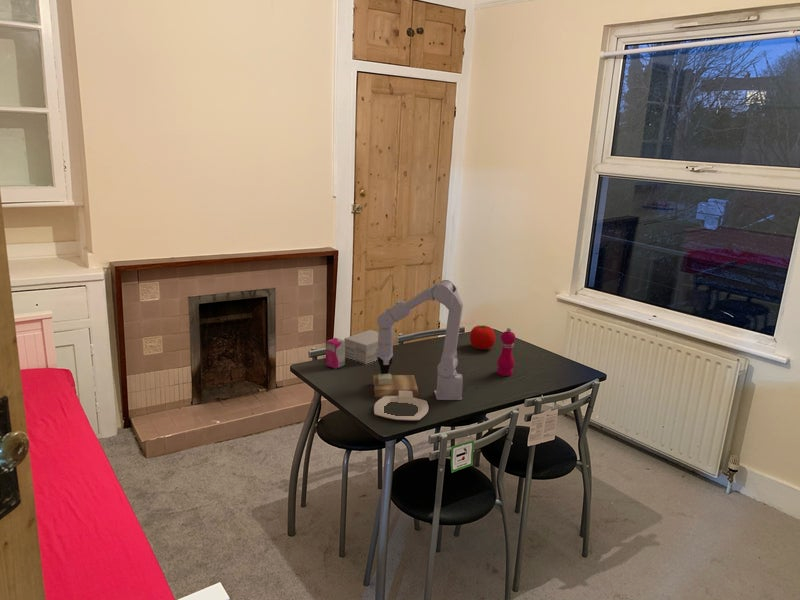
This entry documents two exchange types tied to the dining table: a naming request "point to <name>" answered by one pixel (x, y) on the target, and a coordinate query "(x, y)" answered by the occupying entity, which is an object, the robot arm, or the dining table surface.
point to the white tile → (406, 396)
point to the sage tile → (384, 379)
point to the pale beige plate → (385, 400)
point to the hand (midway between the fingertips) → (384, 375)
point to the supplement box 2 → (362, 346)
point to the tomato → (482, 337)
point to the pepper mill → (506, 354)
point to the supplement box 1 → (335, 353)
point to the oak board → (396, 386)
